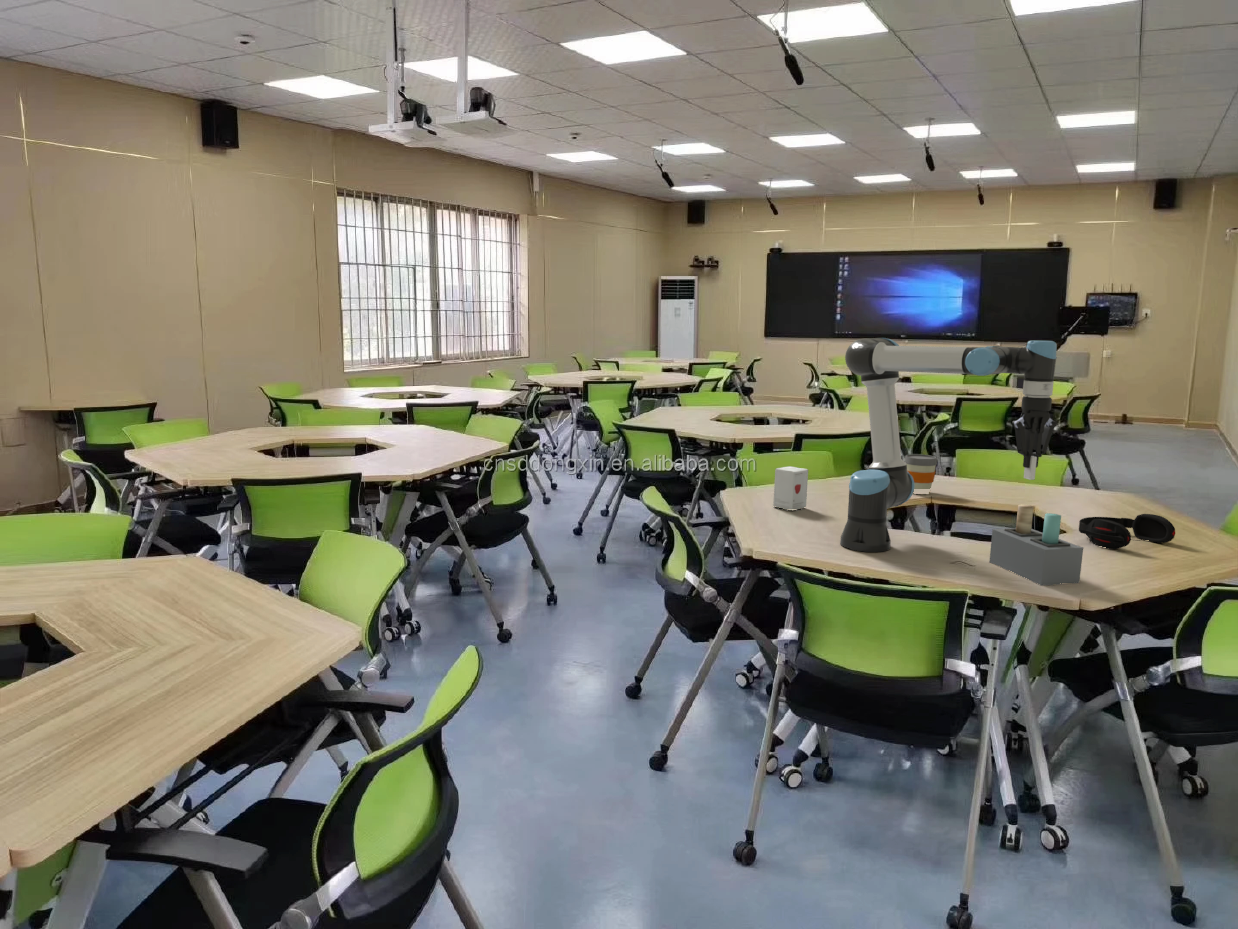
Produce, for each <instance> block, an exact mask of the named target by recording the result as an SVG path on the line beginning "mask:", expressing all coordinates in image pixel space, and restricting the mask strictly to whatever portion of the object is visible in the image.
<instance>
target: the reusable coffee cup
mask: <svg viewBox="0 0 1238 929" xmlns="http://www.w3.org/2000/svg"><path fill="white" fill-rule="evenodd" d="M903 461H904V462H905V463H906V464H907V471H908V472H909V474H910V475H911V476H912V477H913V480H914V485H915V487H914V489H930V488H931V489H932V484H933V483H934V481H935V477H936V476H935V475H936V467H937V465H938V459H937V457H936V456H935V455H929V454H922V453H921V454H919V453H910V454H906V455H905V457H904V460H903Z"/></svg>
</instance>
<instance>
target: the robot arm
mask: <svg viewBox="0 0 1238 929" xmlns="http://www.w3.org/2000/svg"><path fill="white" fill-rule="evenodd" d="M1057 347H1058V345H1057V343H1056V342H1055V341H1053V340H1028V341H1027V344H1026V346H1021V347H1019V346H1002V345H1001V346H1000V345H993V346H992V345H991V346H980V347H978V346H976V347H975V346H972V347H970V346H925V345H924V346H923V345H922V346H921V345H919V346H917V345H915V346H914V345H899V344H898V343H897V341H895V340H893V339H890V338H886V337H875V338H874V337H873V338H872V337H871V338H870V337H869V338H859V339H856V340H855V341H852V343H851V344H850V345H849V346H848V348H847V349H846V352H845V356H844V358H845V359H844V360H845V364H846V367H847V368H848V370H849V371H850V372H852V373H853V374H854V375H857V376H860V381H861V384H862V385H864V386H865V388H866V393H867V394H866V395H867V405H868V418H869V427H870V428H869V429H870V438H871V439H870V440H871V451H872V463H870V465H869V466H868V469H866V470H864V469H861V470H857V471H855V472H854V473H852V474H851V476H850V481H849V484H848V508H847V519H846V520H847V521H846V523H845V525H844V528H843V531H842V533H841V536H840V540H839V541H840V545H841V546H842V547H843V546H844V548H845V547H847V548H846V549H848V548H850V549H849V550H852V551H856V550H857V551H858V552H866V553H881V552H882V553H883V552H887V551H889V550H890V549H891V542H892V541H891V537H890V533H889V529H888V526H887V515H888V509H891V508H893V507H898V506H901V505H903V504H904V503H906V502H908V501H909V500H910V499H911V497H912V496H913V495H914V494H913V492H914V487H915V485H914V480H913V477H912V476H911V475H910V474H909V472H908V471H907V464H906V463H905V462H904V461H905V460H903V459H902V453H901V451H902V450H901V442H900V433H899V431H900V430H899V420H898V417H899V416H898V409H897V406H898V405H897V397H896V386H895V384H896V383H897V382H898V380H899V379H900V374H899V372H901V373H902V372H904V373H905V372H906V373H908V372H909V373H929V374H931V373H933V374H937V373H938V374H960V375H966V374H967V375H975V376H978V377H979V376H984V377H985V376H989V375H995V374H996V375H997V374H1013V375H1014V374H1018V375H1019V374H1020V375H1023V376H1024V377H1023V385H1022V395H1024V396H1022V397H1021V405H1020V406H1021V410H1022V411H1021V414H1020V417H1019V418H1018V419H1017V420H1013V421H1011V422H1012V423H1011V424H1012V425H1013V428H1014V433H1015V434H1014V435H1015V442H1016V450H1017V451H1016V452H1017V453H1018V454H1020V455H1021V456H1023V462H1022V467H1023V470H1024V471H1023V479H1026V480H1029V481H1032V480H1035V478H1036V470H1037V469H1036V468H1038V466H1039V459H1040V458H1042V456H1043V455H1045V454H1046V452H1047V451H1048V447H1049V443H1050V440H1051V437H1052V434H1053V431H1054V428H1055V427H1056V426H1057V424H1058V422H1057V420H1053V419H1052V418H1051V415H1050V411H1051V410H1052V404H1053V403H1052V402H1053V401H1052V400H1053V398H1052V395H1053V391H1054V383H1055V382H1054V380H1055V373H1056V372H1055V371H1056V363H1057Z"/></svg>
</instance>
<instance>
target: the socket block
mask: <svg viewBox="0 0 1238 929" xmlns="http://www.w3.org/2000/svg"><path fill="white" fill-rule="evenodd" d="M1042 537H1043V531H1042V532H1041V531H1039V530H1036V529H1033V528H1031V534H1020V533H1017V532H1016V527H1014V528H994V529H992V531H991V541H990V551H989V553H990V554H989V560H988V561H989V563H991V564H992V565H995V564H996V565H995V566H997V565H998V566H997V567H999V566H1000V568H1001V567H1002V569H1004V570H1005V571H1008V570H1010V571H1012V572H1014V573H1013V574H1015V573H1016V574H1015V575H1017V574H1018V575H1017V576H1019V575H1020V576H1019V577H1021V576H1022V577H1021V578H1024V577H1025V578H1024V579H1026V578H1027V579H1026V580H1028V579H1029V580H1028V581H1031V582H1033V583H1035V584H1037V583H1038V585H1039V584H1040V585H1039V586H1054V585H1053V584H1056V585H1063V584H1062V583H1072V584H1080V581H1081V580H1080V579H1081V572H1082V564H1083V563H1082V562H1083V555H1084V554H1083V553H1084V547H1083V546H1080V545H1077V544H1074V543H1072V542H1068V541H1066V540H1064V539H1060V538H1059V540H1058V544H1046V543H1044V542H1042ZM1010 571H1009V572H1010ZM1012 572H1011V573H1012ZM1060 583H1061V584H1060Z"/></svg>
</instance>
